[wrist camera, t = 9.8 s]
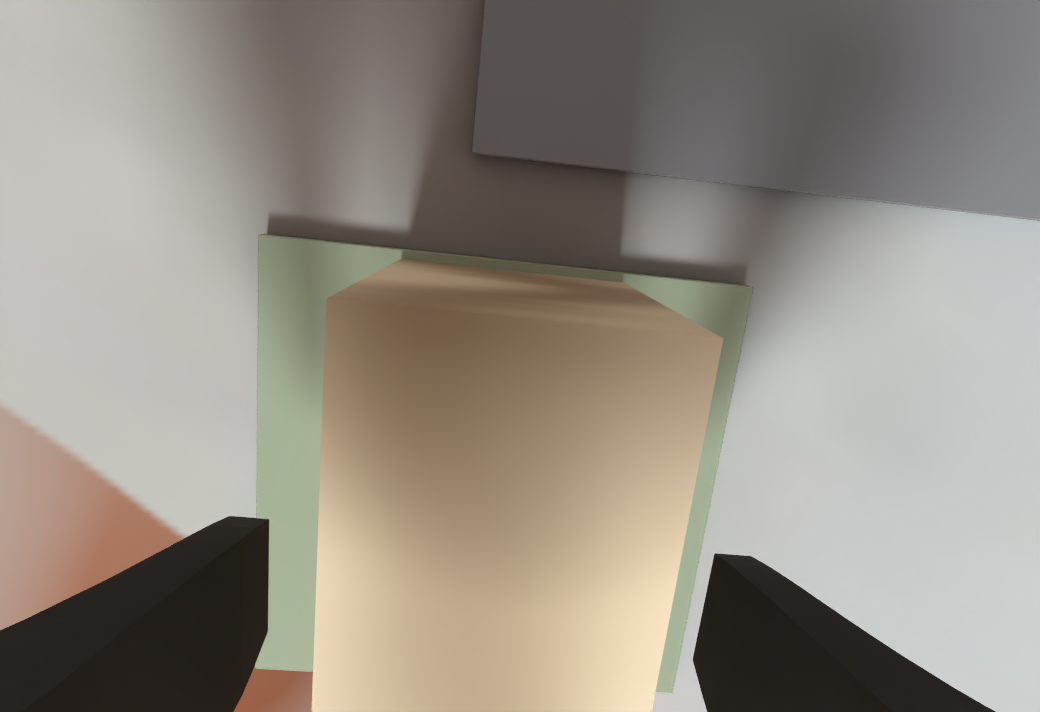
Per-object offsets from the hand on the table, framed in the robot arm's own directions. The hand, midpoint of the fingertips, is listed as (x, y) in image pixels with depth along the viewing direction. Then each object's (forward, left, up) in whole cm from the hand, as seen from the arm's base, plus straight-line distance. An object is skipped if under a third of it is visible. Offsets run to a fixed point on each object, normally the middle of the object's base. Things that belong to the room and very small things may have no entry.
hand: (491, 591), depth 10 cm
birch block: (0, 0, -4) cm, 4 cm away
